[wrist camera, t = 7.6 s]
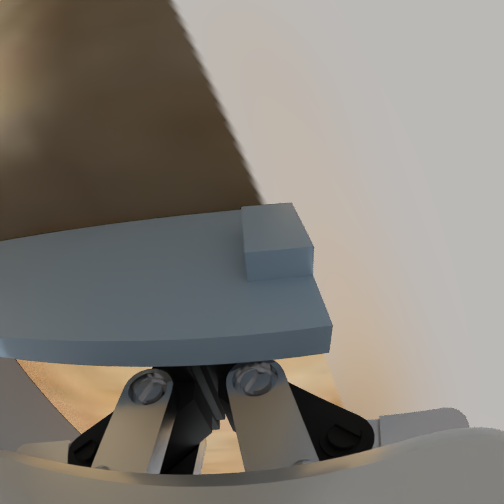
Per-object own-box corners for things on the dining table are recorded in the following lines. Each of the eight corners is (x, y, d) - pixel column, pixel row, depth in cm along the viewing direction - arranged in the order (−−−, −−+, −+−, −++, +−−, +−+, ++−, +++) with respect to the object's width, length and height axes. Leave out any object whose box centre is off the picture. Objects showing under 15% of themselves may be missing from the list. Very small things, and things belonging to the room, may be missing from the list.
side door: (-55, 238, 11) (-124, 305, 5) (282, 186, 12) (336, 293, 6) (-45, 264, 12) (-108, 334, 6) (284, 227, 12) (328, 355, 6)
